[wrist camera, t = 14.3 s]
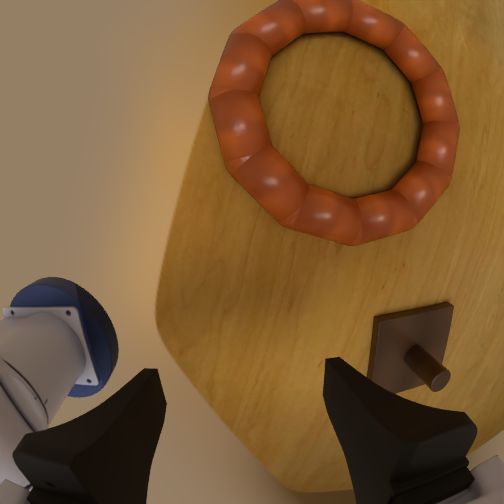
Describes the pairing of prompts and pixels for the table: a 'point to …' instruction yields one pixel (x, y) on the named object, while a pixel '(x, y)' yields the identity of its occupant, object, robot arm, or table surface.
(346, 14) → the ring
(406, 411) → the robot arm
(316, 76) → the table surface
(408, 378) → the square peg base
